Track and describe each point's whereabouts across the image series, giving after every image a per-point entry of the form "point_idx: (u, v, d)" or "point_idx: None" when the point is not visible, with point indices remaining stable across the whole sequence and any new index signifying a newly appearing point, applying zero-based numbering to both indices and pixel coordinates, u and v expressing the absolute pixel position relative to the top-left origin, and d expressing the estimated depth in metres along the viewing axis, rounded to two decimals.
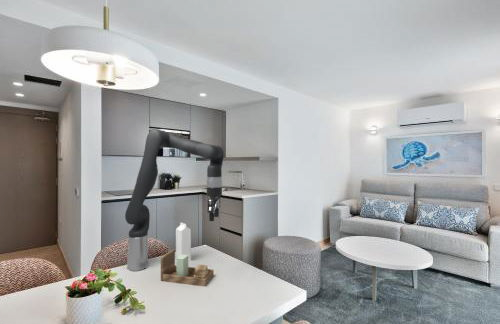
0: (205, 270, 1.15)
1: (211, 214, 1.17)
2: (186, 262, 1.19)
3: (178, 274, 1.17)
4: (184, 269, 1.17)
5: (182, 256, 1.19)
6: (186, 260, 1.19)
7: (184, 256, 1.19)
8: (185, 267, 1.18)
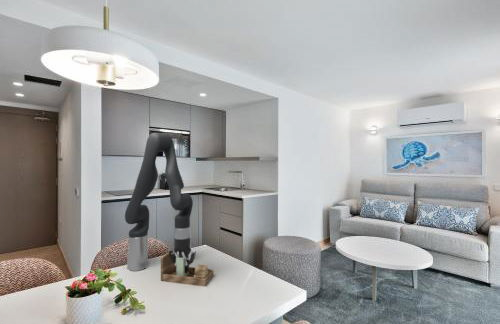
0: (205, 270, 1.15)
1: (188, 265, 1.18)
2: None
3: (178, 274, 1.17)
4: (184, 269, 1.17)
5: None
6: None
7: None
8: None
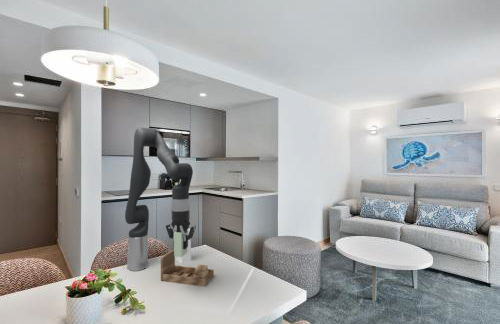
0: (205, 270, 1.15)
1: (187, 241, 1.08)
2: None
3: (176, 250, 1.06)
4: (182, 245, 1.06)
5: None
6: None
7: None
8: None
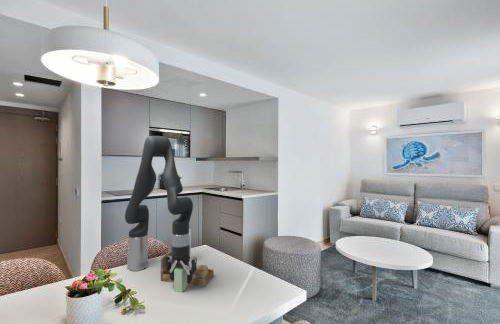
0: (205, 270, 1.15)
1: (191, 274, 1.07)
2: (185, 273, 1.08)
3: (176, 287, 1.06)
4: (183, 281, 1.07)
5: (180, 267, 1.09)
6: (185, 271, 1.08)
7: None
8: (184, 279, 1.08)
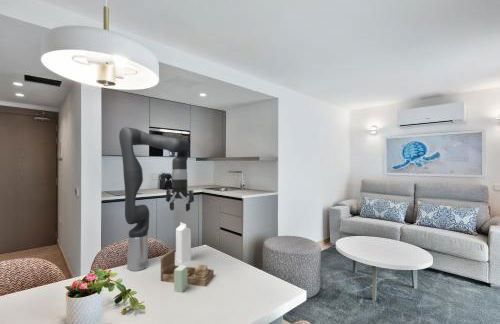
0: (205, 270, 1.15)
1: (189, 204, 1.24)
2: (185, 273, 1.08)
3: (176, 287, 1.06)
4: (183, 281, 1.07)
5: (180, 267, 1.09)
6: (185, 271, 1.08)
7: (183, 267, 1.09)
8: (184, 279, 1.08)
